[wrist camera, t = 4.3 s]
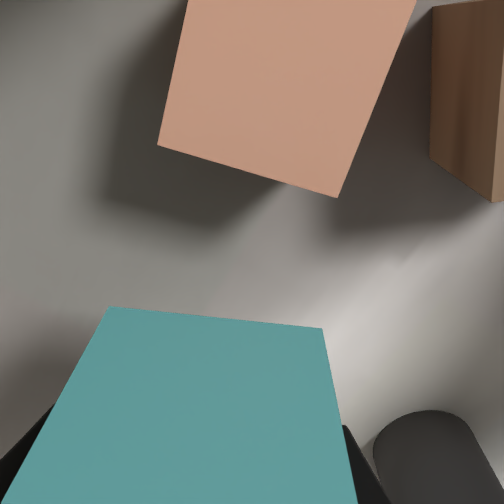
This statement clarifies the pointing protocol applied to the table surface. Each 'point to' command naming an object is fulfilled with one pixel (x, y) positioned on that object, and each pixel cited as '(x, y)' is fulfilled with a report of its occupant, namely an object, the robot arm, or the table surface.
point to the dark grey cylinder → (434, 462)
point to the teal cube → (192, 418)
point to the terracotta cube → (281, 84)
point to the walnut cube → (469, 94)
